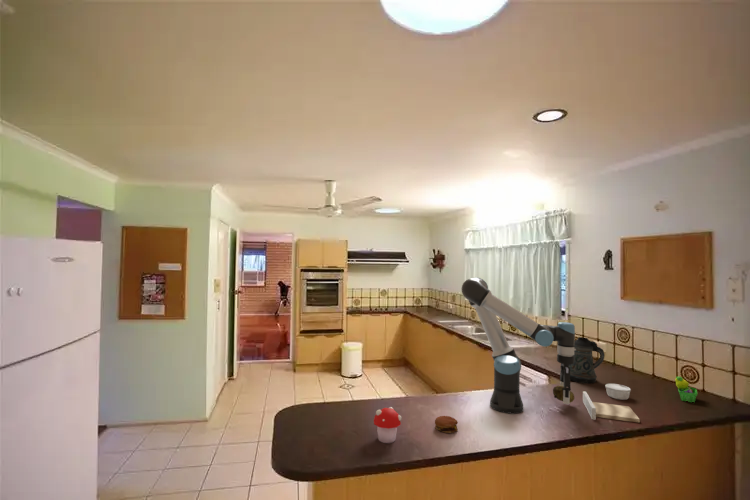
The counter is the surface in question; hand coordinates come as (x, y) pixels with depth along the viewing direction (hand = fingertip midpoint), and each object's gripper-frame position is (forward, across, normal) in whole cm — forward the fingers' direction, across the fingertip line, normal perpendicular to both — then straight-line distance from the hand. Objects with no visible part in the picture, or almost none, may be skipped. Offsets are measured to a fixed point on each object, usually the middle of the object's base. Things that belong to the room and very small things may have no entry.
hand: (564, 399), depth 186 cm
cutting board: (+3, 0, -20) cm, 21 cm away
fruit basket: (+3, +37, -62) cm, 72 cm away
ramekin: (+3, +27, -28) cm, 39 cm away
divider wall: (+3, 0, -10) cm, 11 cm away
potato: (+1, 0, 0) cm, 1 cm away
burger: (+5, -47, +50) cm, 68 cm away
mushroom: (+5, -65, +70) cm, 95 cm away
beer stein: (+3, +54, -16) cm, 56 cm away
